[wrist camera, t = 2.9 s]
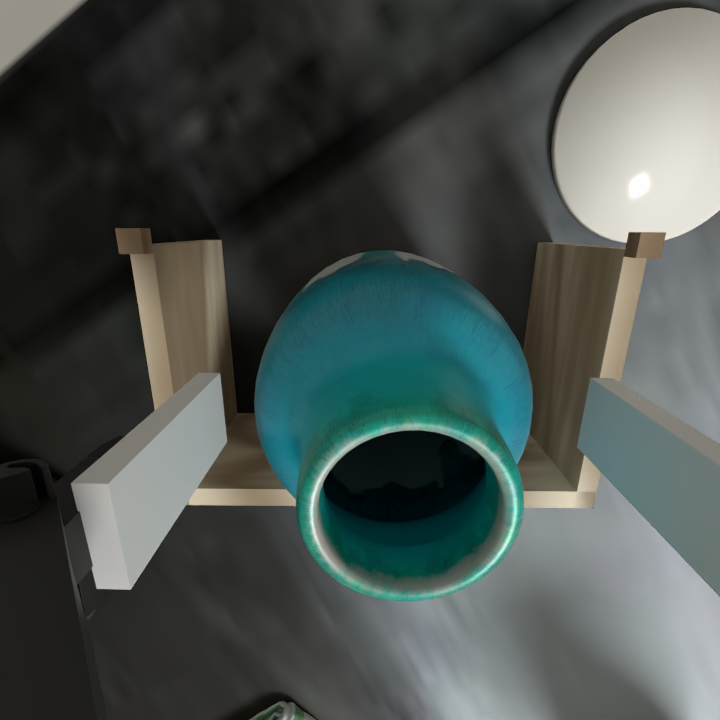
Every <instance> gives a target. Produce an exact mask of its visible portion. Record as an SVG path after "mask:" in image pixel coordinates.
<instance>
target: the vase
mask: <svg viewBox="0 0 720 720" xmlns="http://www.w3.org/2000/svg"><path fill="white" fill-rule="evenodd" d="M254 408H255V418H256V428H257V432H258V436H259V439H260V443H261V447H262V449H263V451H264V453H265V455H266V458H267V460H268V462H269V464H270V466H271V468H272V470H273V471H274V473H275V474H276V476H277V477H278V479H279V480H280V482H281V483H282V485H283V486H284V487H285V488H286V489H287V491H288V492H289V493H290V494H291V495H292V496H293V497H294V498H295V499H296V514H297V521H298V525H299V529H300V533H301V535H302V538H303V540H304V542H305V544H306V546H307V548H308V550H309V552H310V553H311V554H312V556H313V557H314V559H315V560H316V562H317V563H318V564H319V565H320V566H321V567H322V568H323V569H324V570H325V571H326V572H327V573H328V574H329V575H331V576H332V577H333V578H334V579H336V580H337V581H338V582H340V583H342V584H343V585H345V586H347V587H349V588H351V589H352V590H355V591H357V592H360V593H363V594H365V595H368V596H372V597H376V598H380V599H385V600H393V601H420V600H428V599H434V598H438V597H442V596H446V595H449V594H451V593H454V592H457V591H459V590H462V589H464V588H466V587H467V586H469V585H471V584H473V583H475V582H477V581H478V580H479V579H481V578H482V577H483V576H485V575H486V574H488V573H489V572H490V571H491V570H492V569H493V568H494V567H495V566H496V565H497V564H498V563H499V562H500V561H501V560H502V559H503V557H504V556H505V555H506V553H507V552H508V551H509V549H510V548H511V546H512V544H513V542H514V540H515V538H516V536H517V534H518V531H519V528H520V525H521V522H522V515H523V507H524V491H523V484H522V480H521V476H520V472H519V469H518V467H517V464H518V462H519V460H520V458H521V456H522V454H523V452H524V449H525V446H526V443H527V439H528V436H529V433H530V427H531V419H532V412H533V389H532V382H531V378H530V373H529V369H528V364H527V361H526V358H525V356H524V354H523V351H522V349H521V346H520V344H519V342H518V340H517V338H516V337H515V335H514V333H513V332H512V330H511V329H510V327H509V326H508V324H507V322H506V321H505V319H504V318H503V317H502V315H501V314H500V313H499V312H498V310H497V309H496V308H495V307H494V306H493V305H492V304H491V303H490V302H489V301H488V300H487V298H486V297H485V296H484V295H483V294H482V293H481V292H479V291H478V290H477V289H476V288H474V287H473V286H472V285H471V284H469V283H468V282H467V281H465V280H464V279H463V278H461V277H460V276H459V275H457V274H456V273H454V272H452V271H451V270H449V269H447V268H445V267H443V266H441V265H439V264H437V263H435V262H434V261H431V260H429V259H426V258H423V257H420V256H417V255H414V254H411V253H405V252H399V251H393V250H375V251H369V252H363V253H358V254H355V255H352V256H349V257H346V258H343V259H341V260H339V261H337V262H336V263H334V264H332V265H330V266H328V267H326V268H325V269H324V270H322V271H321V272H320V273H318V274H317V275H316V276H315V277H313V278H312V279H311V280H310V281H309V282H308V283H307V284H306V285H305V286H304V287H303V288H302V289H301V290H300V291H299V292H298V294H297V295H296V296H295V297H294V298H293V299H292V301H291V302H290V303H289V305H288V306H287V308H286V309H285V311H284V312H283V314H282V315H281V317H280V318H279V320H278V321H277V323H276V325H275V327H274V329H273V331H272V333H271V335H270V338H269V340H268V342H267V344H266V347H265V349H264V352H263V355H262V358H261V362H260V366H259V370H258V374H257V379H256V386H255V398H254Z"/></svg>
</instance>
